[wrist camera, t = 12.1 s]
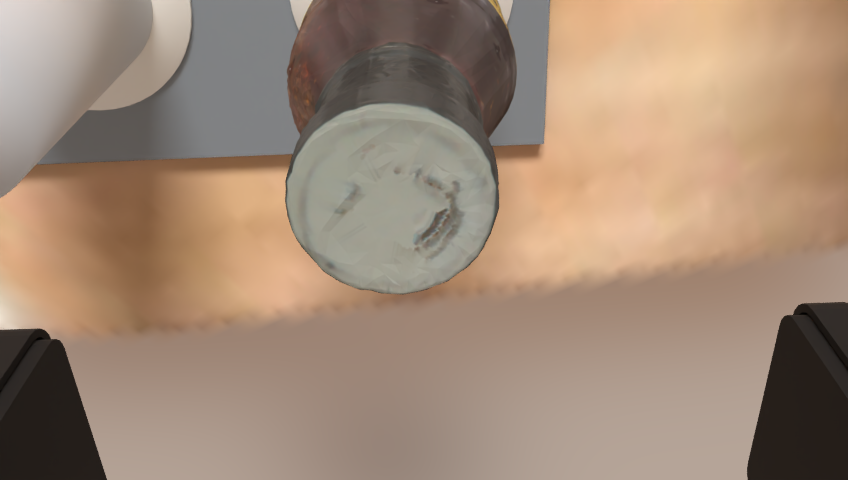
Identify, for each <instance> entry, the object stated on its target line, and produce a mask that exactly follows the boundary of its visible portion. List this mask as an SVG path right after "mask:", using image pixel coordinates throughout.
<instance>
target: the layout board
mask: <svg viewBox="0 0 848 480" xmlns="http://www.w3.org/2000/svg"><path fill="white" fill-rule="evenodd" d="M311 2H312V0H0V198H1V197H3V196H4V195H6V194H7V193H8V192H10V191H11V190H12V189H13V188H14V187H15V186H16V185H17V184H18V183H19V182H20V181H21V180H22V179H23V178H24V177H25V176H26V175H27V174H28V173H29V172H30V171H31V169H32V168H33V167H34V166H35V165H36V164H60V163H84V162H109V161H134V160H159V159H183V158H208V157H233V156H257V155H282V154H293V152H294V149H295V146H296V143H297V141H298V140H299V138H300V133H299V132H298V130H297V128H296V125H295V123H294V119H293V116H292V111H291V108H290V107H289V96H288V90H287V86H288V83H287V78H288V75H287V68H288V65H289V61H290V55H291V50H292V48H293V44H294V42H295V39H296V37H297V34H298V32H299V30H300V27H301V24H302V21H303V18H304V16H305V14H306V11H307V9H308V7H309V5H310V4H311ZM498 3H499V6H500V8H501V12H502V15H503V18H504V20H505V22H506V24H507V27H508V29H509V33H510V36H511V39H512V43H513V46H514V50H515V57H516V64H517V79H516V87H515V92H514V97H513V99H512V102H511V104H510V107H509V109H508V111H507V113H506V114H505V116H504V117H503V119H502V120H501V122H500V123H499V125H498V126H497V128H496V129H495V130H494V132H493V133H492V135H491V136H490V137H489V141H490V143H491V146H504V145H529V144H544V127H545V103H546V79H547V56H548V32H549V8H550V0H498Z"/></svg>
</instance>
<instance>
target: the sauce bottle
mask: <svg viewBox="0 0 848 480" xmlns="http://www.w3.org/2000/svg"><path fill="white" fill-rule="evenodd" d="M287 75H288V78H287V83H288V86H287V90H288V96H289V107H290V108H291V111H292V116H293V119H294V123H295V125H296V128H297V130H298V132H299V133H300V138H299V140H298V141H297V143H296V146H295V149H294V152H293V155H292V158H291V163H290V166H289V170H288V173H287V177H286V197H285V202H286V208H287V215H288V218H289V222H290V225H291V228H292V231H293V233H294V235H295V237H296V239H297V240H298V242H299V243H300V245H301V246H302V248H303V249H304V250H305V251H306V252H307V253H308V254H309V255H310V257H311V258H312V259H313V260H314V261H315V262H316V263H317V264H318V266H319V267H320V268H321V269H322V270H323V271H324V272H325V273H327V274H328V275H330V276H332V277H333V278H335V279H336V280H338V281H340V282H342V283H344V284H347V285H349V286H352V287H354V288H357V289H360V290H371V291H375V292H379V293H387V294H408V293H413V292H418V291H423V290H427V289H429V288H431V287H433V286H436V285H439V284H441V283H444V282H447V281H448V280H450V279H451V278H452V277H454V276H455V275H457V274H458V273H459V272H461V271H462V270H464V269H465V268H467V267H468V266H469V265H470V264H471V263H472V262H473V261H474V260H475V259H476V258H477V257H478V255H479V254H480V252H481V251H482V249H483V247H484V245H485V243H486V241H487V239H488V237H489V236H490V234H491V231H492V228H493V225H494V222H495V219H496V216H497V213H498V209H499V190H498V185H499V182H498V169H497V164H496V159H495V154H494V151H493V148H492V146H491V143H490V141H489V137H490V136H491V135H492V133H493V132H494V130H495V129H496V128H497V126H498V125H499V123H500V122H501V120H502V119H503V117H504V116H505V114H506V113H507V111H508V109H509V107H510V104H511V102H512V99H513V97H514V92H515V87H516V79H517V64H516V57H515V50H514V46H513V43H512V39H511V36H510V33H509V29H508V27H507V24H506V22H505V20H504V18H503V15H502V12H501V8H500V6H499V3H498V0H312V2H311V4H310V5H309V7H308V9H307V11H306V14H305V16H304V18H303V21H302V24H301V27H300V30H299V32H298V34H297V37H296V39H295V42H294V44H293V48H292V50H291V55H290V61H289V65H288V68H287Z"/></svg>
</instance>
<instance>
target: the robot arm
mask: <svg viewBox="0 0 848 480" xmlns="http://www.w3.org/2000/svg"><path fill="white" fill-rule="evenodd" d="M747 477H748V480H848V303H845V302H835V303H804V304H801V305H798V307H797V308H796V309H795V311H794V314H793V315H787V316H784V317H783V319H782V320H781V323H780V326H779V330H778V335H777V339H776V344H775V348H774V352H773V356H772V361H771V365H770V370H769V374H768V378H767V383H766V387H765V391H764V396H763V401H762V404H761V409H760V413H759V417H758V422H757V426H756V430H755V435H754V439H753V443H752V448H751V452H750V456H749V461H748V467H747ZM0 480H107V478H106V475H105V472H104V469H103V466H102V463H101V460H100V457H99V454H98V451H97V447H96V444H95V441H94V438H93V435H92V432H91V429H90V426H89V423H88V419H87V416H86V413H85V410H84V407H83V404H82V401H81V398H80V395H79V392H78V388H77V386H76V383H75V379H74V376H73V373H72V370H71V367H70V364H69V361H68V357H67V355H66V351H65V348H64V346H63V344H62V343H61V342H60V340H57V339H51V338H50V336H49V334H48V333H47V332H46V331H45V330H43V329H14V330H0Z"/></svg>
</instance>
